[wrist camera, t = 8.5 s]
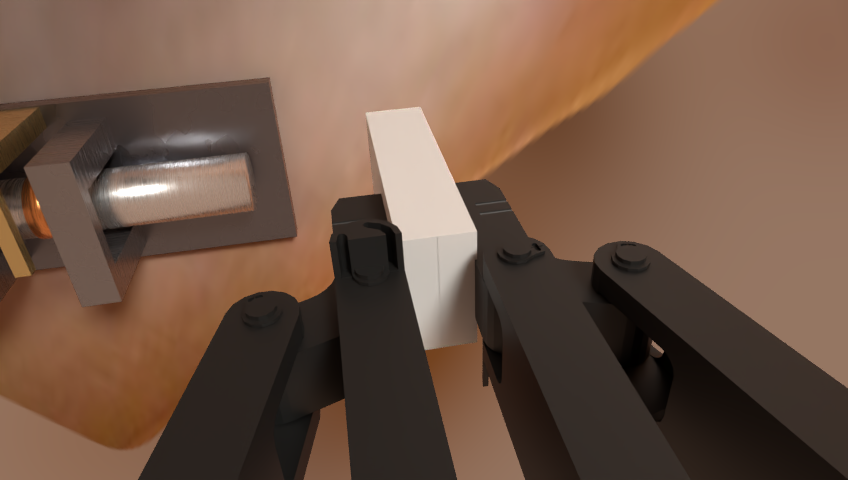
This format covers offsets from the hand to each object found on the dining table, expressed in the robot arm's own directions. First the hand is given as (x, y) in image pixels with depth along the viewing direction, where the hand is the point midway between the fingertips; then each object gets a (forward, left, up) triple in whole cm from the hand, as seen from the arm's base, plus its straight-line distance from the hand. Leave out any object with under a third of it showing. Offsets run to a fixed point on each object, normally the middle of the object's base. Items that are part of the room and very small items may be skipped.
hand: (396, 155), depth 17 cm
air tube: (+11, -18, -26) cm, 33 cm away
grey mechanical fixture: (+11, -18, -27) cm, 34 cm away
